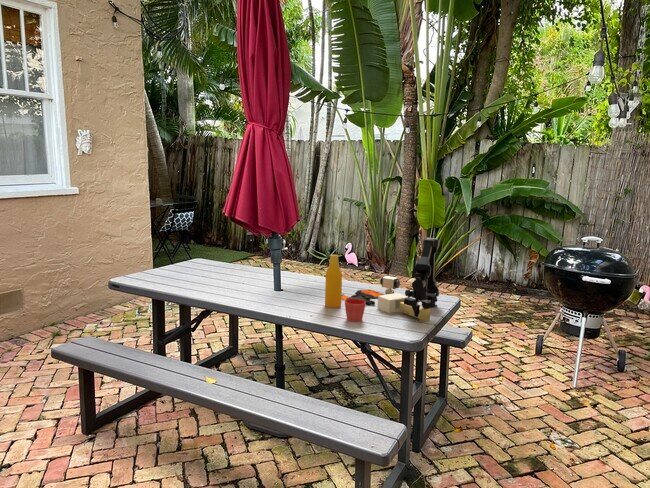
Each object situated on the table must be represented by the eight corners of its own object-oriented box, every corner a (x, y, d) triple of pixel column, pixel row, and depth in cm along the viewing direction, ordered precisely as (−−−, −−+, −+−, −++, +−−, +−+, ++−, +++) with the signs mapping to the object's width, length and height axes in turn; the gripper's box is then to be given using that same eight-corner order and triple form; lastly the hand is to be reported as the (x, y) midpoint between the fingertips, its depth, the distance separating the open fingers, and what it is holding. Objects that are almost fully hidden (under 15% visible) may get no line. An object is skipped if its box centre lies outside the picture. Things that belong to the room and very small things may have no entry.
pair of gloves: (361, 291, 298) (362, 286, 297) (394, 298, 282) (395, 293, 282) (335, 299, 277) (335, 294, 276) (369, 308, 261) (369, 302, 261)
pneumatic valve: (395, 297, 284) (396, 277, 282) (379, 293, 291) (380, 275, 289) (400, 295, 288) (401, 276, 286) (384, 292, 295) (384, 273, 294)
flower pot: (363, 316, 244) (364, 298, 243) (366, 323, 233) (366, 304, 232) (343, 316, 244) (344, 298, 242) (345, 322, 233) (345, 304, 231)
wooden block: (407, 311, 254) (407, 300, 253) (429, 320, 240) (430, 308, 239) (398, 313, 250) (398, 302, 249) (420, 322, 236) (421, 310, 235)
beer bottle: (322, 304, 265) (323, 254, 261) (337, 303, 268) (338, 253, 264) (328, 308, 256) (329, 257, 252) (343, 307, 260) (345, 256, 255)
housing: (396, 305, 267) (397, 292, 266) (408, 309, 258) (409, 296, 257) (377, 308, 259) (377, 295, 258) (389, 313, 251) (389, 300, 250)
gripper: (423, 281, 250) (421, 309, 253) (397, 285, 240) (395, 314, 243) (438, 286, 241) (437, 315, 244) (412, 290, 231) (410, 320, 234)
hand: (419, 316), depth 241 cm, fingers closed on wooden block, 5 cm apart
